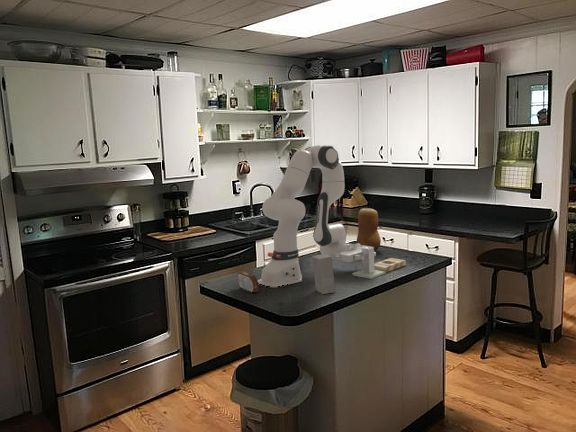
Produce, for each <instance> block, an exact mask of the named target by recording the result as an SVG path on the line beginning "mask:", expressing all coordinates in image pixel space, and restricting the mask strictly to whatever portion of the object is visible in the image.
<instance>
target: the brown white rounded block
mask: <svg viewBox="0 0 576 432" xmlns="http://www.w3.org/2000/svg"><path fill="white" fill-rule="evenodd" d="M257 280H258V279H257V277H256V275H255V274H253V273H251V272H248V271H246V270H243V271H240V272H238V273H237V284H238V286H239V287H242V288H244V289H247V290H249V291H251V292H255V293H258V291H259V288H260V285H259V284H258V281H257Z"/></svg>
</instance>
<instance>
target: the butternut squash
mask: <svg viewBox="0 0 576 432" xmlns="http://www.w3.org/2000/svg"><path fill="white" fill-rule="evenodd" d="M357 215H358V216H357V219H358V221H357V222H358V224H357V225H358V227H357V229H358V231H357V235H356V244H357V243H358V244H360V245H365V246H370V247H373V248H374V252H376V251H377V250H378V249H379V248H380V246H381V241H382V240H381V236H380V233H379V231H378V229H379V214H378V211H377V210H375V209H373V208H369V207H367V208H360V210H359V211H358V214H357Z"/></svg>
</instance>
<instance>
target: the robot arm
mask: <svg viewBox="0 0 576 432" xmlns="http://www.w3.org/2000/svg"><path fill="white" fill-rule="evenodd" d="M312 169H320V171H321V174H322V177H321V178H322V179H321V180H322V181H321V182H322V184H321V185H322V186H321V192H320V194H319V195H318V198H317V203H316V204H317V205H316V216H315V224H314V230H313V234H312V235H313V240H314V242H315V243H316V244H317V245H318V246H319V251H320V253H321V254H327V255H329V256H331V257H332V260H339V262H344V263H351V262H354V261H355V262H356V261H362V260H364V259H365V256H362V248H364V247H370V246H365V245H360V244H358V243H357V242H356V243H346V242H347V229H346V228H345V226H344V225H343V224H342V223H339V222H338V223H332V224H328V222H329V214H330V213H329V210H330V208H331V206H332V204H333V203H335V202H336V201H337V200H339V199H340V198H341V197H342V196H343V195H344V194H345V188H346V187H345V185H346V184H345V173H344V167H343V164H342V162H341V161H340V159H339V153H338V150H337V148H336V147H334V146H333V145H330V144H329V145H328V144H324V145H317V144H316V145H313V146H308V147H306V148H304V149H298V150H296V151H295V152H294V153H293V155H292V156H291V159H290V161H289V163H288V164H287V166H286V170H285V172H284V174H283V177H282V179H281V182H280V183H279V185H278V186H277V188H276V189H275V190H274V192H273V193H272V195H270V196H269V197H268V198H267V199H265V200H264V201H263V203H262V208H261V210H262V213H263V215H264V216H265V217H267V218H269V219H271V220H274V221H278V224H277V225H278V226H277V229H276V231H275V232H274V233H273V236H272V238H273V252H267V256H268V257H269V258H271V259H270V260H269V262H268V263H267V264H266V265H265V267H263V269H261V276H260V277H261V278H260V279H257V281H258V283H259V284H262V285H265V286H264V287H266V286H270V287H269V288H279V287H278V286H280V287H283V286H282V285H284V286H288V285H292V284H296V283H297V284H298V283H300V282H303V274H302V271H301V269H300V268H301V266H300V264H299V263H300V262H299V254H300V252H299V249H298V227H299V225H300V223H301V221H302V220H303V219H304V217H305V215H306V206H305V204H304V202H302V201H300V200H298V199H295V198H296V197H298V195H300V194H301V193H302V192H303V191H304V189H305V186H306V183H307V181H308V178H309V176H310V173H311V170H312ZM321 254H320V255H321ZM376 256H377V253H376V251H374V257H376ZM259 284H258V285H259ZM287 284H288V285H287ZM262 285H261V286H262Z"/></svg>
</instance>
